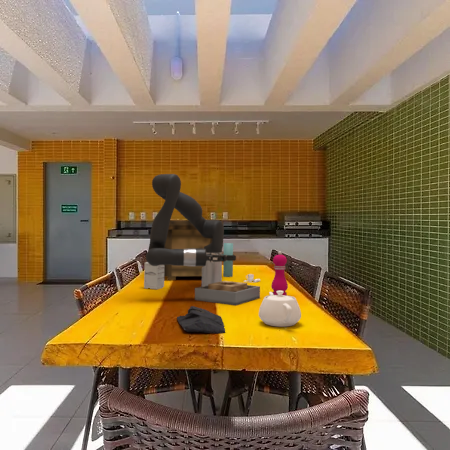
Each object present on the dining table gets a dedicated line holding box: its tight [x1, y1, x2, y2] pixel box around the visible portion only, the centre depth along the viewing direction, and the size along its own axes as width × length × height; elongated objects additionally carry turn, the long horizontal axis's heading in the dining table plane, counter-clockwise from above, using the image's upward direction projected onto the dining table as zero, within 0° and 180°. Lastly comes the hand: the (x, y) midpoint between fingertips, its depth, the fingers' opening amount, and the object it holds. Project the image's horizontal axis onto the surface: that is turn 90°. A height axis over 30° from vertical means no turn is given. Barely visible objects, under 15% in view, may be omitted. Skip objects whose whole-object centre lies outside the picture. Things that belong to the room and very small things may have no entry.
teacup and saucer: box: [243, 273, 261, 283], centre depth 242 cm, size 9×8×4 cm
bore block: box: [208, 280, 248, 292], centre depth 187 cm, size 12×12×6 cm
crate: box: [164, 220, 224, 281], centre depth 257 cm, size 35×35×33 cm
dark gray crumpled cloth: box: [176, 305, 226, 335], centre depth 141 cm, size 15×22×5 cm
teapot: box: [258, 291, 302, 328], centre depth 145 cm, size 22×14×11 cm, turn 10°
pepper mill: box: [270, 250, 289, 296], centre depth 195 cm, size 7×7×20 cm
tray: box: [194, 284, 261, 306], centre depth 187 cm, size 20×20×5 cm
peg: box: [222, 242, 234, 278], centre depth 187 cm, size 4×4×14 cm
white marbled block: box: [143, 261, 165, 290], centre depth 215 cm, size 7×7×13 cm
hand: (234, 257), depth 188 cm, fingers closed on peg, 4 cm apart
